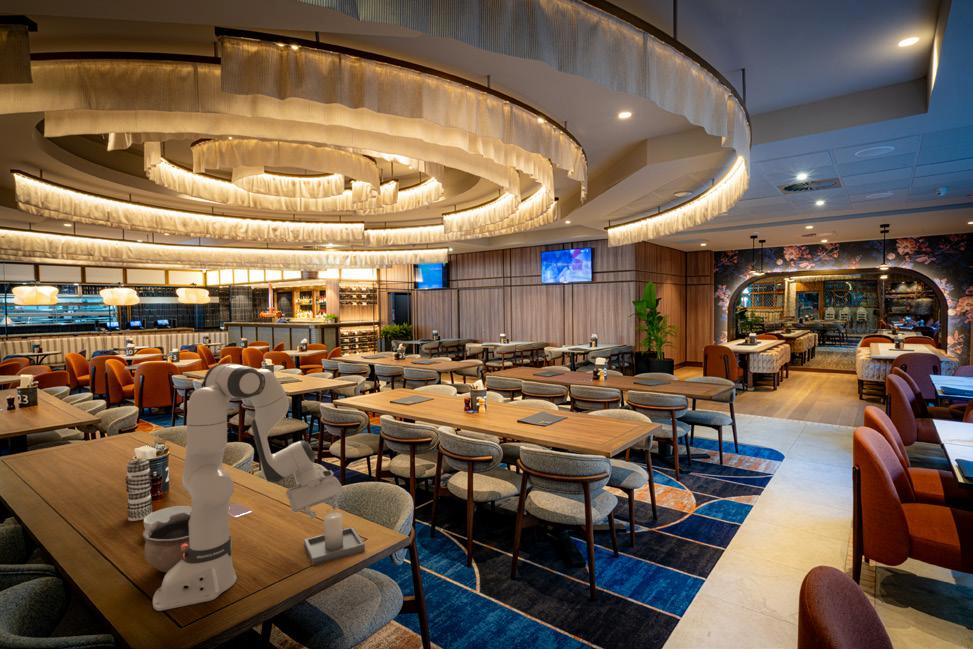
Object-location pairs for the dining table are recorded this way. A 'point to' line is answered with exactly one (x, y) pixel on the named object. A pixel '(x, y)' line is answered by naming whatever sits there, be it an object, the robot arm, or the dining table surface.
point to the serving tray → (321, 555)
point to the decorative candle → (138, 489)
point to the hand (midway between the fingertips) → (325, 512)
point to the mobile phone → (238, 510)
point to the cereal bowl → (165, 514)
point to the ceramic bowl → (166, 541)
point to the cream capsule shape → (333, 531)
